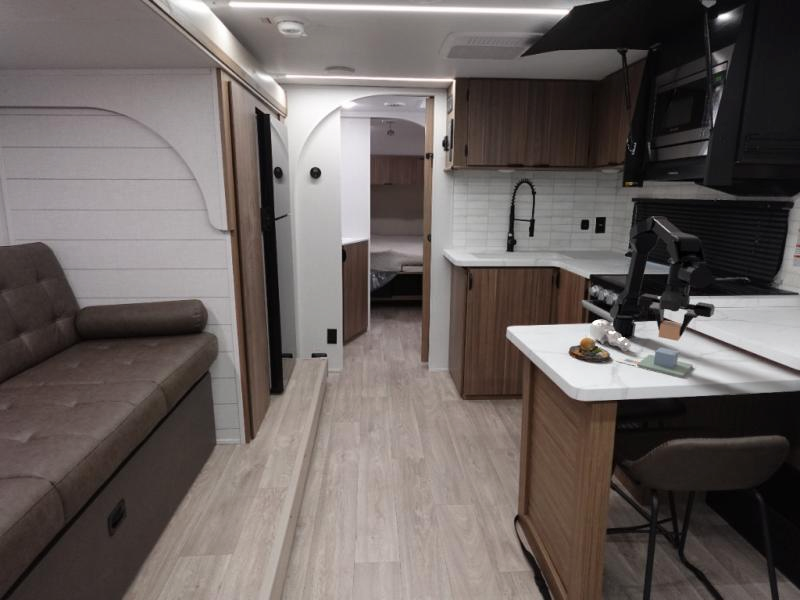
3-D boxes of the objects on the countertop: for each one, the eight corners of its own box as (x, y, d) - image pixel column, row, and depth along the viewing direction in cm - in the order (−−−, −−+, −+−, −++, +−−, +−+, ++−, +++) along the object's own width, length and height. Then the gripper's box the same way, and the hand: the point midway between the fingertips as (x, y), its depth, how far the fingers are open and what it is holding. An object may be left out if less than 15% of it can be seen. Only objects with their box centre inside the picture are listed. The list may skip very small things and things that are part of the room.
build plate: (637, 366, 145) (637, 364, 145) (649, 356, 154) (649, 354, 154) (682, 378, 138) (682, 375, 137) (692, 367, 146) (692, 364, 146)
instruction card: (616, 361, 149) (616, 360, 149) (622, 356, 154) (622, 356, 154) (644, 368, 144) (644, 367, 144) (650, 363, 148) (650, 362, 148)
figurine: (626, 328, 155) (596, 308, 168) (607, 344, 156) (579, 323, 169) (638, 347, 160) (609, 326, 173) (621, 363, 161) (592, 340, 174)
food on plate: (617, 362, 149) (620, 338, 148) (582, 364, 147) (585, 340, 145) (593, 349, 161) (596, 327, 159) (561, 351, 158) (563, 328, 156)
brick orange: (658, 337, 143) (660, 323, 142) (662, 333, 147) (664, 320, 146) (677, 340, 140) (679, 327, 139) (681, 336, 144) (683, 323, 143)
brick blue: (658, 360, 149) (660, 347, 148) (676, 364, 146) (678, 351, 145) (653, 364, 146) (655, 351, 145) (672, 368, 142) (674, 355, 141)
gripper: (635, 279, 140) (627, 332, 144) (711, 290, 128) (700, 347, 132) (647, 274, 148) (639, 324, 152) (719, 284, 136) (709, 338, 140)
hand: (670, 333), depth 144 cm, fingers closed on brick orange, 5 cm apart
